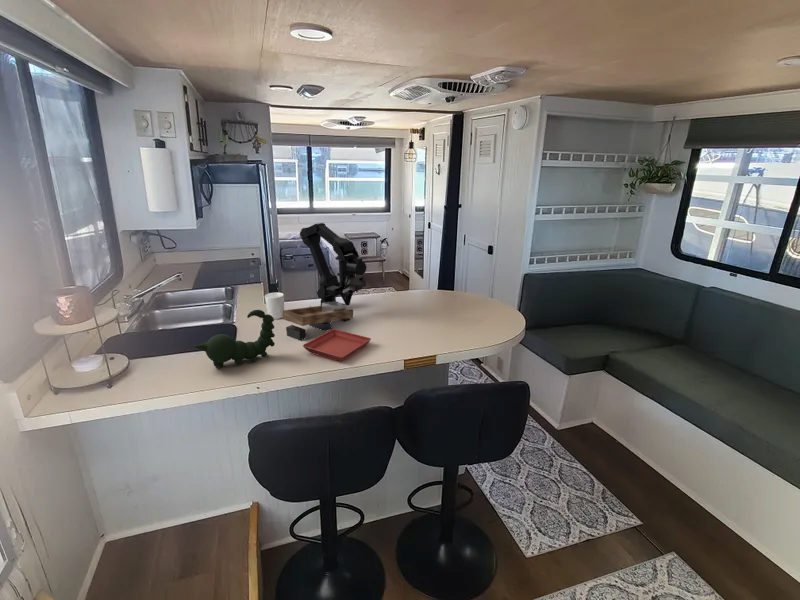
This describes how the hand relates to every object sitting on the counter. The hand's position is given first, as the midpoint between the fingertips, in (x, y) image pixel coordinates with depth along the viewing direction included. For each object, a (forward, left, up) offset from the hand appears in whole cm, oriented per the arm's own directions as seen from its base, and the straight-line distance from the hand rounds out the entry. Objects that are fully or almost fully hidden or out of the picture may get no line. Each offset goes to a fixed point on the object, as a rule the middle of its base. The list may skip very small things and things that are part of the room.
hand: (347, 305), depth 184 cm
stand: (+17, 0, -5) cm, 17 cm away
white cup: (+20, -25, -5) cm, 32 cm away
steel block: (+9, 0, -1) cm, 9 cm away
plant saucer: (+27, +21, -6) cm, 34 cm away
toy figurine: (+54, +2, -5) cm, 54 cm away
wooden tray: (+17, 0, -1) cm, 17 cm away
